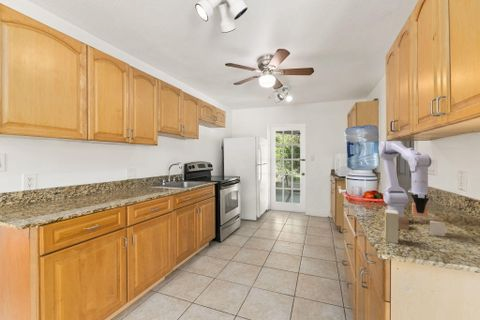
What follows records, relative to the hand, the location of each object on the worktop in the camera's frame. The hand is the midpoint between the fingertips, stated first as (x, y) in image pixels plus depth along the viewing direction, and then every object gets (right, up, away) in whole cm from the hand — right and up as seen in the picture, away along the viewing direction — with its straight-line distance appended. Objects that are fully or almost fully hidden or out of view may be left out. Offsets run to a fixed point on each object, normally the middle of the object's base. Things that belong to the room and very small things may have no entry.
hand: (419, 211), depth 97 cm
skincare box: (-18, -10, -8) cm, 22 cm away
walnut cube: (-2, -10, +9) cm, 13 cm away
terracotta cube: (0, -2, 0) cm, 2 cm away
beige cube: (+8, -10, 0) cm, 13 cm away
